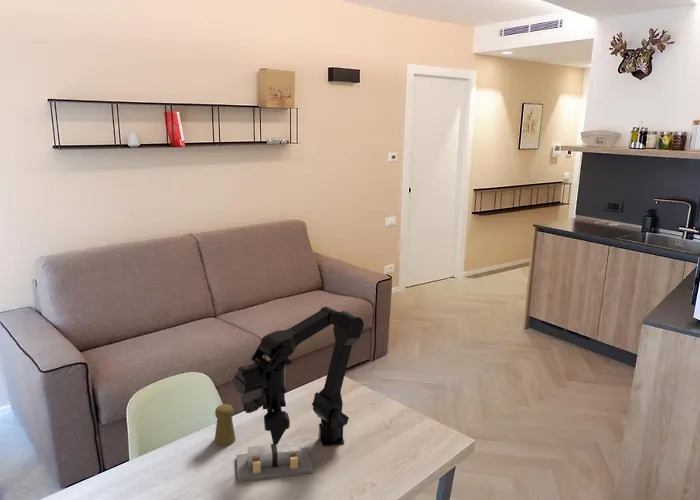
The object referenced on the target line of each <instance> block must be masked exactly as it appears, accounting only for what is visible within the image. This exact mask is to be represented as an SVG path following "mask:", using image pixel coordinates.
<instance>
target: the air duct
mask: <svg viewBox="0 0 700 500" xmlns="http://www.w3.org/2000/svg"><path fill="white" fill-rule="evenodd" d="M300 448H301V446H300V442H299V441H298V440H297V441H290V442H281V443H279V442H278V444H276V445H274V444H273V443H270V444H263V445H254V446H253V445H252V446H247V454H248V467H249V469H253V461H260V462H261V467H269V466H278V465H286V464H290V457H295V456H298V463H300V459H301V450H300Z"/></svg>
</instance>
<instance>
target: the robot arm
mask: <svg viewBox="0 0 700 500" xmlns="http://www.w3.org/2000/svg"><path fill="white" fill-rule="evenodd" d="M364 324H365V323H364V321H363V319H362V318H361V317H360V316H358V315H355V314H354V313H351V312H350V311H347V310H342V311H338V310H335V309H333V308H332V307H329V306H323V307H321V308H320V310H319V311H317V312H315V313H313V314H312V315H309V316H308V317H307V318H305V319H303V320H301V321H299V322H298V323H296V324H294V325H293V326H291V327H290V328H287V329H283V330H275V331H273V332H271V333H268V334H265V335H264V336H263V337H262V338H261V340H260V343H259V345H258V346H257V348H256V349H255V351H254V354H253V355H252V357H251V359H250V360H251V361H252V362H253V363H251V364H248V365H243V366H238V369H237V371H236V372H235V374H234V376H233V384H234V386H235V389H236V391H237V393H238V394H240V402H241V405H242V407H243V411H244V412H245V413H246V414H251V413H254V412H256V411H258V410H259V409H260V408H262V410H266V412H267V413H266V414H265V415H264V416H263V425H264V431H267V432H270V436H271V439H272V444H274V445H276V444H279V442H280V440H281V438H282V436H283V435H284V433H285V432H286V430H289V429H290V424H291V423H290V421H291V420H290V417H289V414H288V412H287V411H285V410H282V408H283V407H287V402H286V399H285V395H286V392H287V387H286V366H290V365H293V360H291V359H290V358H289V357H290V356H291V355H293V353H294V352H295V350H296V348H297V347H298V346H299V345H301V344H302V343H304V342H305V341H307V340H308V339H310V338H312V337H313V336H315V335H316V334H318V333H320V332H321V331H323V330H325V329H326V328H329V326H332V325H333V329H332V330H333V334H334V339H335V343H334V347H333V349H332V353H331V354H332V355H331V358H330V362H329V367H328V370H327V375H326V379H325V382H324V387H323V388H322V389H321V390H320V391H319V392H318V391H317V392H315V393H314V397H313V402H312V403H311V405H312V410H313V412H314V414H316V416H317V417H318V418H320V422H319V423H318V438H319V441H320V442H321V444H322V446H325V447H326V446H331V445H332V446H334V445H343V444H345V440H344V426H346V425H347V424H348V422H349V416H348V415H346V414H345V413H344V412H343V404H344V403H343V398H342V394H341V393H342V392H341V391H342V387H343V382H344V379H345V376H346V371H347V367H348V365H349V364H348V363H349V359H350V356H351V351H352V348H353V345H354V344H355V343H356V342H357V341H359V339H360V337H361V335H362V332H363V330H364ZM263 356H265V357H266V358H268V360H267V359H265V358H264V357H263Z"/></svg>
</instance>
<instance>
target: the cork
mask: <svg viewBox="0 0 700 500" xmlns="http://www.w3.org/2000/svg"><path fill="white" fill-rule="evenodd" d="M214 412H215V413H214V415H215V418H216V426H215V434H214V444H215V445H217V446H219V447H228V446H231V445H233V444H234V443H235V441H236V434H235V429H234V423H233V422H234V421H233V415H234V407H233V406H232V405H231V404H227V403H222V404H220V405H218V406H217V407H216V409H215V411H214Z"/></svg>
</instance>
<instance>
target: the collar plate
mask: <svg viewBox="0 0 700 500" xmlns="http://www.w3.org/2000/svg"><path fill="white" fill-rule="evenodd" d="M300 450H301V459H300V463H298V456H295V457H290V464H286V465H278V466H269V467H261V462H260V461H253V469H249V467H248V453H241V454H236V473H237V483H238V482H239V483H240V482H248V481H256V480H265V479H271V478H279V477H286V476H288V477H289V476H295V475H304V474H312V473H314V468H313V463H312V459H311V456H310V452H309V447H308V446H303V447H301V446H300Z"/></svg>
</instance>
